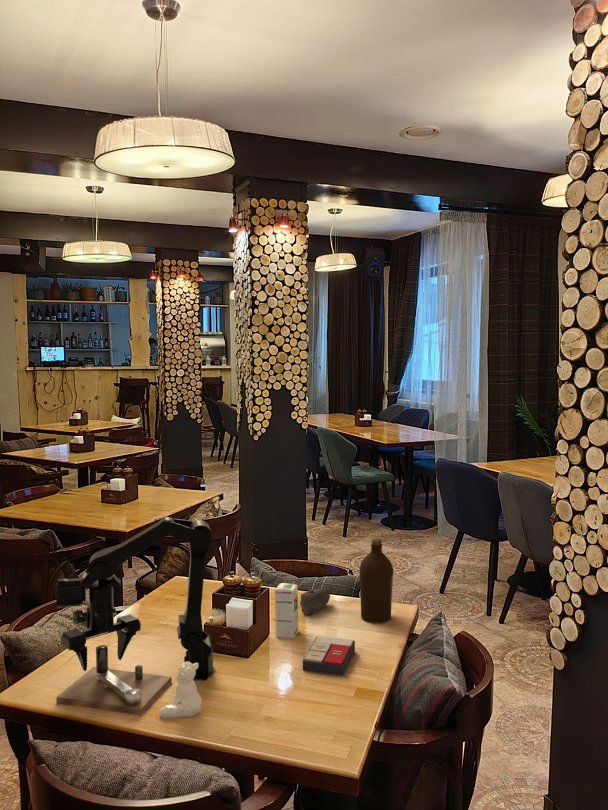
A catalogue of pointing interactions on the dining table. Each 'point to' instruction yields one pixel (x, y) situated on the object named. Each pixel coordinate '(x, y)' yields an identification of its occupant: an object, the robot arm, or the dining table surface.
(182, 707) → the sitting furry creature
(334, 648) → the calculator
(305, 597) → the perforated stone tool
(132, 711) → the board
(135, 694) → the lever
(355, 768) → the dining table surface
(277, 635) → the syrup box
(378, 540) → the olive oil
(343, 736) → the dining table surface
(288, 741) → the dining table surface
